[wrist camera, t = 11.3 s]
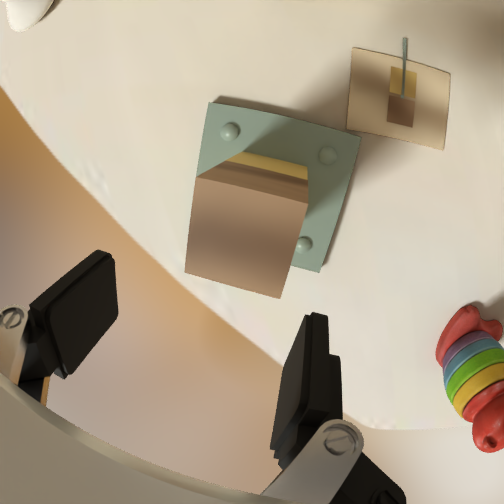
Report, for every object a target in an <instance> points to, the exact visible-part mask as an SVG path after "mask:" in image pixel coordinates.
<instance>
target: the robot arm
mask: <svg viewBox="0 0 504 504" xmlns="http://www.w3.org/2000/svg"><path fill="white" fill-rule="evenodd" d="M29 306H30V310H29V311H28V312H27V310H26V309H25V308H24V307H23V306H21V305H9V306H6V307H5V308H2V309H1V310H0V504H406V497H405V494H404V492H403V490H402V489H401V488H400V487H399V486H398V485H397V484H396V483H395V482H393V481H392V480H391V479H390V478H389V477H388V476H387V475H386V474H385V473H384V472H383V471H382V470H381V469H379V468H378V467H377V466H376V465H375V464H374V463H373V462H372V461H371V460H370V459H369V458H368V457H367V456H366V455H365V454H364V453H363V452H362V449H363V446H364V439H363V436H362V433H361V432H360V430H359V429H358V428H357V427H356V426H355V425H353V424H352V423H350V422H348V421H345V420H343V413H342V381H341V361H340V357H339V356H336V355H332V354H329V327H328V316H327V315H323V314H319V313H315V312H312V313H311V315H305V316H304V318H303V321H302V323H301V326H300V328H299V331H298V333H297V336H296V338H295V341H294V343H293V345H292V348H291V350H290V353H289V355H288V357H287V360H286V362H285V364H284V367H283V371H282V377H281V384H280V390H279V396H278V402H277V409H276V415H275V421H274V426H273V432H272V438H271V443H270V449H271V450H275V453H274V458H276V459H279V462H278V465H279V466H280V467H281V468H282V471H281V472H280V474H279V475H278V476H277V477H276V478H275V479H274V480H273V481H272V482H271V483H270V485H269V486H268V487H267V488H266V489H265V490H264V491H263V492H262V493H261V494H260V495H257V494H253V493H248V492H244V491H240V490H235V489H231V488H227V487H224V486H220V485H216V484H212V483H209V482H206V481H202V480H199V479H195V478H192V477H189V476H186V475H183V474H180V473H177V472H174V471H172V470H169V469H166V468H163V467H160V466H158V465H156V464H153V463H151V462H148V461H146V460H143V459H141V458H139V457H136V456H134V455H132V454H130V453H127V452H125V451H123V450H121V449H119V448H117V447H115V446H112V445H110V444H108V443H106V442H104V441H102V440H101V439H99V438H97V437H95V436H93V435H91V434H89V433H88V432H86V431H84V430H82V429H80V428H79V427H77V426H75V425H74V424H72V423H70V422H68V421H67V420H65V419H64V418H62V417H60V416H59V415H57V414H56V413H54V412H52V411H51V410H50V409H48V408H47V407H46V403H47V395H48V388H49V382H50V376H51V374H52V373H53V372H54V374H56V375H57V376H59V377H61V378H62V379H65V378H66V377H67V376H68V375H70V374H73V373H74V371H75V370H76V369H77V368H78V366H79V365H80V364H81V362H82V361H83V360H84V359H85V357H86V356H87V355H88V354H89V352H90V351H91V350H92V348H93V347H94V346H95V345H96V344H97V342H98V341H99V340H100V338H101V337H102V336H103V335H104V334H105V332H106V331H107V330H108V329H109V328H110V326H111V325H112V324H113V323H114V322H115V320H116V319H117V316H118V302H117V290H116V276H115V261H114V259H113V258H112V255H111V254H110V253H107V252H104V251H101V250H96V251H94V252H93V253H92V254H90V255H89V256H88V257H87V258H85V259H84V260H83V261H81V262H80V263H79V264H78V265H76V266H75V267H74V268H73V269H71V270H70V271H69V272H68V273H66V274H65V275H64V276H63V277H61V278H60V279H59V280H58V281H57V282H55V283H54V284H53V285H52V286H51V287H49V288H48V289H47V290H46V291H45V292H43V293H42V294H41V295H40V296H39V297H38V298H36V300H34V301H33V302H32V303H31V304H30V305H29Z"/></svg>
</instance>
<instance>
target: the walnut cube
mask: <svg viewBox="0 0 504 504" xmlns="http://www.w3.org/2000/svg"><path fill="white" fill-rule="evenodd" d="M307 207H308V180H305V179H302V178H298V177H294V176H290V175H286V174H282V173H278V172H274V171H270V170H266V169H262V168H257V167H253V166H249V165H244V164H240V163H235V162H231V161H224V162H222V163H220V164H218V165H216V166H215V167H213V168H211V169H209V170H207V171H206V172H204V173H202V174H200V175H198V176H197V177H196V180H195V187H194V194H193V202H192V209H191V217H190V226H189V234H188V243H187V252H186V262H185V273H188V274H192V275H195V276H199V277H202V278H205V279H209V280H212V281H216V282H219V283H223V284H227V285H230V286H234V287H237V288H241V289H245V290H248V291H252V292H256V293H259V294H263V295H267V296H271V297H274V298H278V299H280V297H281V294H282V291H283V288H284V285H285V281H286V278H287V275H288V272H289V268H290V265H291V262H292V258H293V255H294V252H295V248H296V245H297V242H298V238H299V235H300V231H301V228H302V224H303V221H304V217H305V214H306V210H307Z"/></svg>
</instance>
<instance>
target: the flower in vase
mask: <svg viewBox="0 0 504 504" xmlns="http://www.w3.org/2000/svg"><path fill="white" fill-rule="evenodd" d="M0 1H3V2H5V3H6V6H7V16H8V21H9V24H10V27H11V28H12V29H13V30H15V31H16V32H24V31H26V30H28V29H29V28H31V27H32V26H34V25H35V24H36V23H37V22H38V21H39V20H40V19H41V18H42V17H43V16H44V15H45V13H46V12H47V11H48V9H49V8H50V6H51V5H52V3H53V1H54V0H0Z"/></svg>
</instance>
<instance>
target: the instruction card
mask: <svg viewBox="0 0 504 504" xmlns="http://www.w3.org/2000/svg"><path fill="white" fill-rule="evenodd" d="M449 87H450V74H448V73H445V72H443V71H440V70H437V69H434V68H431V67H428V66H425V65H422V64H418V63H415V62H412V61H408V60H406V38H403V59H401V58H397V57H393V56H389V55H385V54H381V53H376V52H372V51H367V50H362V49H357V48H352V60H351V77H350V91H349V104H348V115H347V125H346V129H350V130H356V131H361V132H367V133H372V134H377V135H382V136H387V137H391V138H396V139H400V140H404V141H408V142H413V143H417V144H420V145H424V146H428V147H432V148H435V149H439V150H442V151H443V148H444V141H445V133H446V124H447V115H448V103H449Z"/></svg>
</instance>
